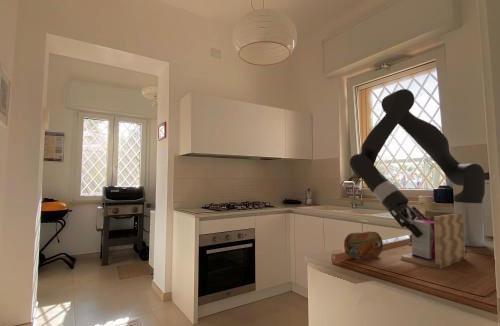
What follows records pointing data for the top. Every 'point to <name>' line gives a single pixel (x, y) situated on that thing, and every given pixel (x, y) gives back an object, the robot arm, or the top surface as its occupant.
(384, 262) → the top surface
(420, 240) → the supplement box
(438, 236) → the wooden bookend
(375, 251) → the tin
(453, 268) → the top surface
